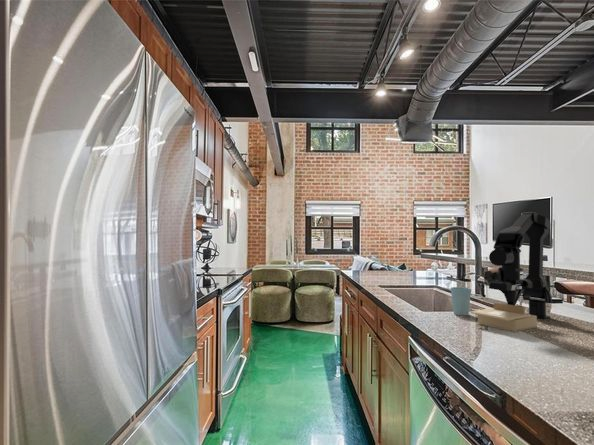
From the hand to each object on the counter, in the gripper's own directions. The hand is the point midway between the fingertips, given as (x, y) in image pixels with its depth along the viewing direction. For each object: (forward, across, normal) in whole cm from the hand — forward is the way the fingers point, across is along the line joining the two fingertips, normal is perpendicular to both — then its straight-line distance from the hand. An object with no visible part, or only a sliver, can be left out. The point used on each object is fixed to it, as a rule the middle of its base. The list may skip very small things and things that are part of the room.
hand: (511, 308), depth 127 cm
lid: (+2, +7, 0) cm, 7 cm away
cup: (+6, 0, -20) cm, 21 cm away
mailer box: (+6, +3, 0) cm, 7 cm away
